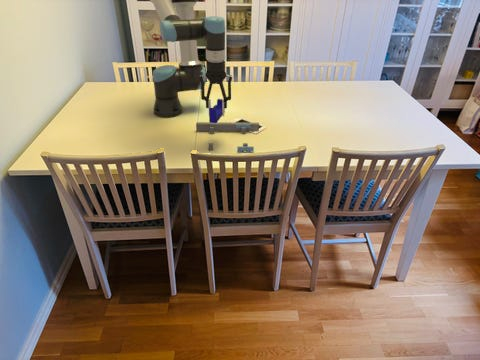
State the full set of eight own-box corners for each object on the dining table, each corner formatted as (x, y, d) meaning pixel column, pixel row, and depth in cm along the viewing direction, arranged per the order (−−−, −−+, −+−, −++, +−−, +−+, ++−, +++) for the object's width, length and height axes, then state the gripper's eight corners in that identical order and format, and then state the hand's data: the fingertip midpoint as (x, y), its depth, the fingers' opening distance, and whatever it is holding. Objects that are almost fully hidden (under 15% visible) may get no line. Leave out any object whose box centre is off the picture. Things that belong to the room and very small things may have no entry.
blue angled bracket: (215, 111, 151) (214, 98, 148) (224, 112, 150) (224, 99, 147) (206, 121, 142) (205, 108, 138) (216, 123, 141) (215, 109, 137)
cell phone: (238, 118, 175) (238, 117, 175) (266, 129, 166) (266, 127, 166) (227, 124, 170) (227, 122, 169) (255, 135, 160) (255, 133, 160)
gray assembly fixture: (193, 152, 145) (192, 144, 143) (196, 129, 163) (196, 122, 160) (262, 152, 146) (263, 144, 144) (258, 130, 164) (258, 122, 162)
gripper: (191, 62, 130) (194, 118, 143) (238, 63, 130) (237, 118, 143) (193, 57, 136) (196, 111, 149) (238, 58, 136) (237, 111, 149)
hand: (216, 114), depth 146 cm, fingers closed on blue angled bracket, 5 cm apart
